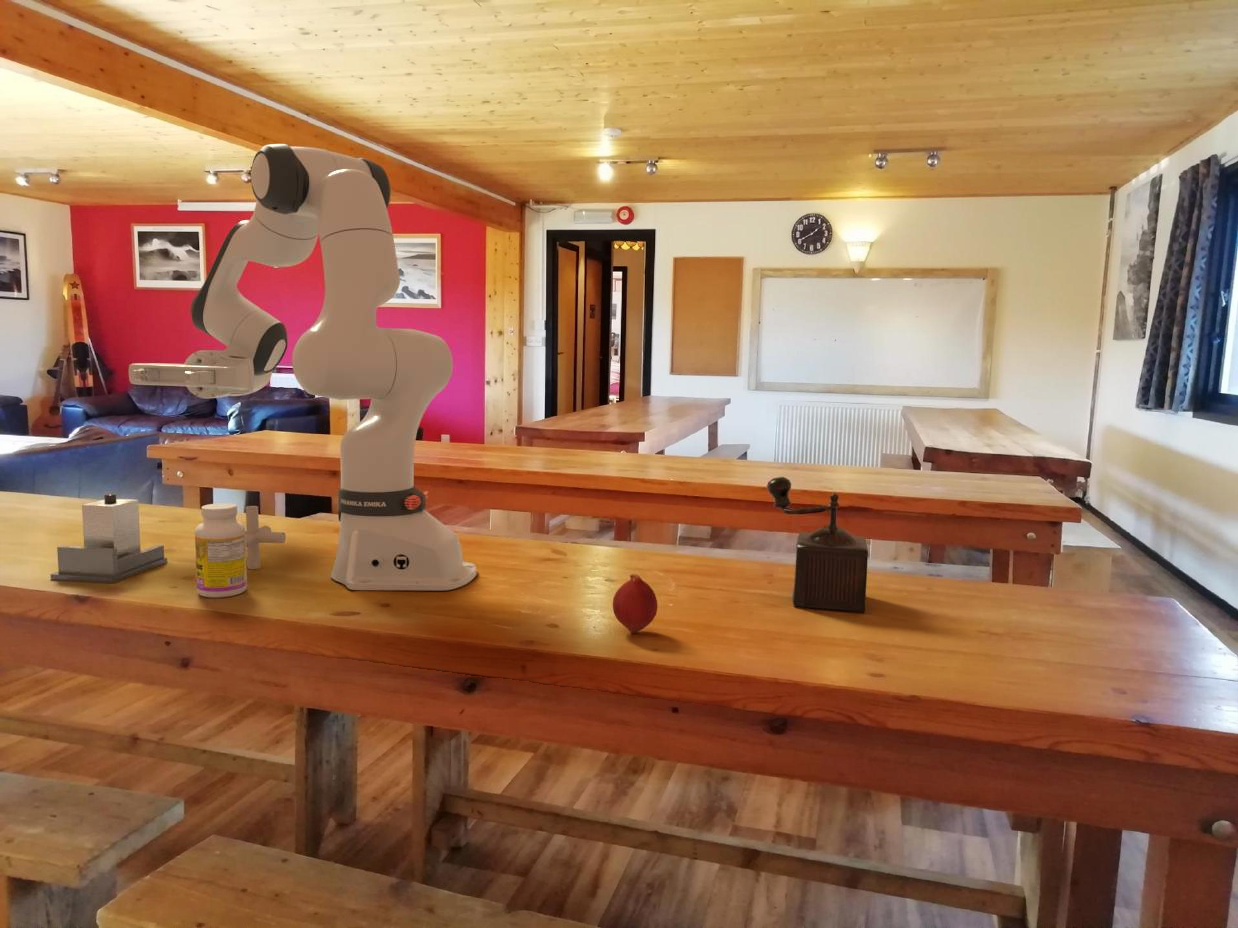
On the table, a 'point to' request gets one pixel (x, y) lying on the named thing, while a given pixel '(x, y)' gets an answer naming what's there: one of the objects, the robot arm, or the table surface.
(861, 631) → the table surface
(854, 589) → the manual coffee grinder
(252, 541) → the pipe connector
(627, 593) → the onion
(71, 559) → the tray
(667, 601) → the table surface
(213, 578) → the supplement bottle
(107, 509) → the block
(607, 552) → the table surface
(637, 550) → the table surface
